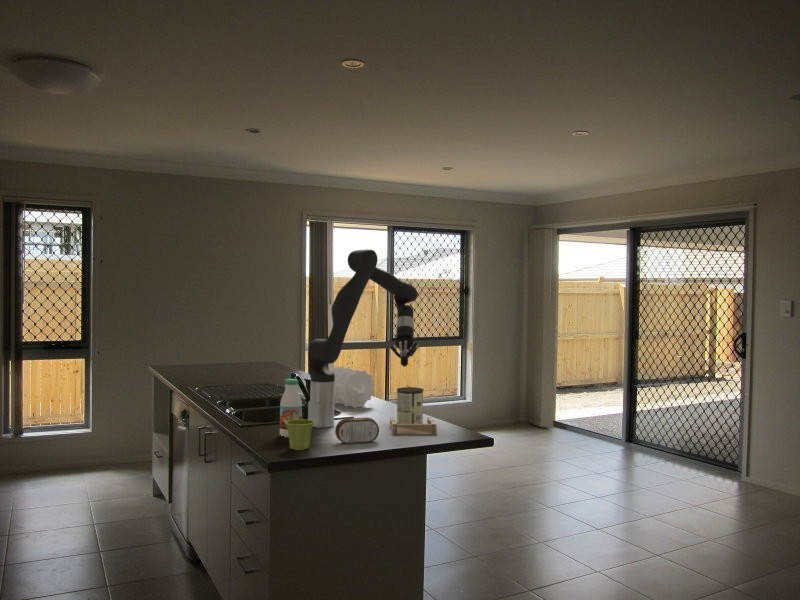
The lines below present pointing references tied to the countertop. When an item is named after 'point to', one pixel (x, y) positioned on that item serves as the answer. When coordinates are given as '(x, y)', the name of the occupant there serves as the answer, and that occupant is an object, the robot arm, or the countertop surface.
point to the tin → (357, 430)
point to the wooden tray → (413, 427)
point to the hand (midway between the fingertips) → (404, 365)
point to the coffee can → (409, 405)
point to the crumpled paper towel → (352, 386)
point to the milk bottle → (290, 405)
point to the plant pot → (299, 433)
